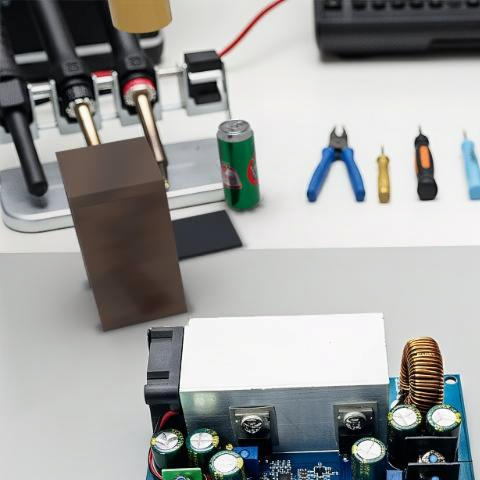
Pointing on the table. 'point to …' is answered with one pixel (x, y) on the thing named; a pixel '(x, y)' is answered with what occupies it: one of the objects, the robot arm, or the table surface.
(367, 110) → the table surface
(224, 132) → the soda can
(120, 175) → the tall brown wooden block
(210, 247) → the mat
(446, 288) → the table surface
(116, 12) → the cup
